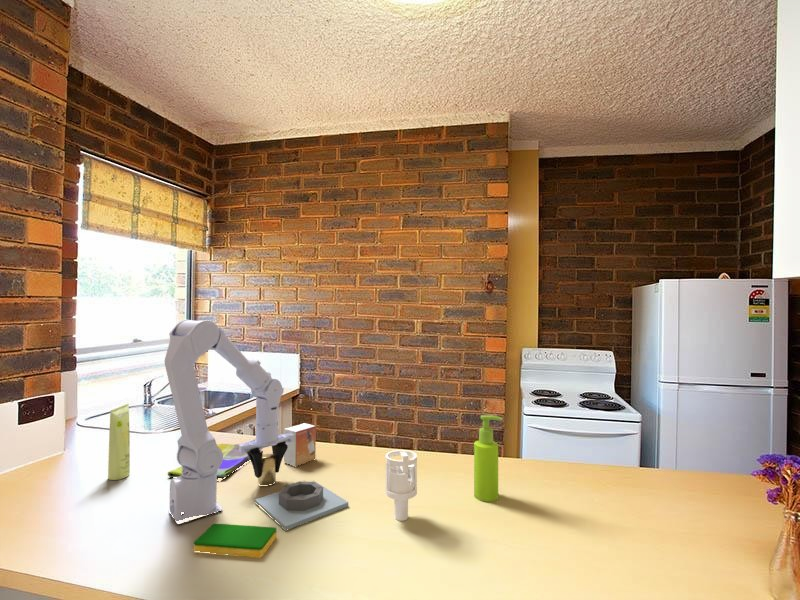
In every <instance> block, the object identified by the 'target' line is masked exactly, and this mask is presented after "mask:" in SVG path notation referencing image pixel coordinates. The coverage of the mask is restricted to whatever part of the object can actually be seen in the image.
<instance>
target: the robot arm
mask: <svg viewBox="0 0 800 600" xmlns="http://www.w3.org/2000/svg"><path fill="white" fill-rule="evenodd" d="M209 350H213V351H215V352H216V353H217V354H218V355H220V356H221V358H223V359H224V360H225V361H227V362H228V363H229V364H230V365H232V366H233V367H234V368H235V370H236V371H235V375H236V376H237V377H238V378H239V379H240V380H241V381H242V382H243V383H244V384H245V385H246V386H247V387H248V388H249V389H250V390H251V391H250V392H251V395H252V396H253V397H255V398H256V399H255V400H256V401H255V406H256V408H255V414H256V415H255V439H252V440H249V441H246V442H243V443H238V444H239V453H241V454H243V453H245V452H247V454H248V456H249V458H250V460H251V462H250V463H251V464H252V468H253V473H254V476H255V477H256V478H257V479H258V478H260V477H261V460H262V455H263V452H262V453H261V452H260V450H259V449H260V448H263V449H264V448H268V447H271V450H272V454H275V455H276V474H277V473H279V472H280V468H281V464H282V462H283V459H284V454H285V452H286V450H287V448H288V445H286V442H293V441H294V435H293V434H291V433H288V434H284V433H283V434H279V418H280V417H279V414H280V413H279V406H280V404H281V399H282V398H281V397H282V396H283V393H284V391H285V390H284V389H285V388H284V387H283V386H282V383H281V382H280V380H279V379H276V378H273V377H272V374H271V372H270V371H266V369H264V368H263V367H262V365H261V364H262V362H261V361H259V359H254V358H247V357H245V355H244V354H243V353H242V352H241V351H240V350H239V349H238V347H237V346H236V345H235V344H234V343H233V342H232V341H231V339H230V338H229V337H228V336H227V335H226V333H225V331H224V330H223V329H222V328H221V327H219V326H218V325H217V324H216V323H215V322H214V321H212V320H208V319H207V320H206V319H205V320H192V319H183V320H181V321H179V322H178V323H177V324H176V325H175V326H174V328H172V330H170V332H169V343H168V347H167V350H166V353H165V357H164V367H165V371H166V374H167V379H168V383H169V387H170V391H171V395H172V396H171V397H172V400H173V404H174V409H175V413H176V417H177V421H178V426H179V429H180V434H181V436H180V437H179V438H178V439H177V446H178V448H177V452H176V460H177V463H178V464H179V465H180V467H181V466H182V475H180V476H179V477H177V478H171V480H170V482H169V510H170V512H171V514H172V515H173V517H174V519H175V520H176V521H179V520H183V519H185V518H189V517H193V516H199V515H207V514H211V513H214V512H217V511H220V510H222V509H223V507H221V505H220V504H219V503H218V501H217V483H218V482H217V470H218V469H219V467H220V466H221V464H222V461H223V453H222V451H221V449H220V448H219V447H218V446H217V444H218V443H217V441H216V439H215V437H214V436H213V435H212V433H211V432H210V430H209V429H208V425H207V419H206V416H205V410H204V406H203V403H202V399H201V394H200V389H199V385H198V381H197V376H196V372H195V367H194V365H195V363H196V362H197V361H198V360H199V358H200V357H201V356H203V355H204V354H205V353H206V352H208V351H209ZM222 511H223V510H222ZM181 512H184V514H182V515H181ZM174 519H173V520H174Z"/></svg>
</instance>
